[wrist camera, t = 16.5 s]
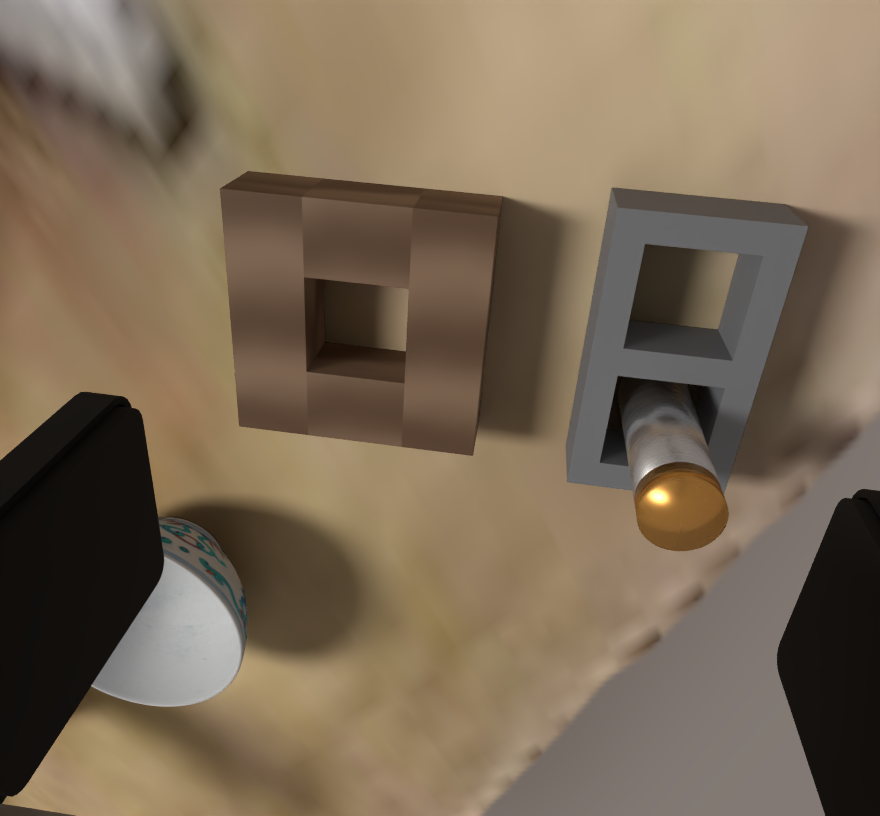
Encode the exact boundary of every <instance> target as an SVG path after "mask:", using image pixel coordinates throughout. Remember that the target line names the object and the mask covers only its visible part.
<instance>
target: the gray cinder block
mask: <svg viewBox="0 0 880 816" xmlns="http://www.w3.org/2000/svg"><path fill="white" fill-rule="evenodd" d="M808 227H809V226H808V225H807V224H805V223H804V222H803V221H802V220H801V219H800V218H799V217H798V216H797V215H796V214H795V213H794V212H793V211H792V210H791V209H790V208H789V207H788V206H787V205H786V204H776V203H766V202H755V201H745V200H735V199H724V198H714V197H704V196H693V195H683V194H672V193H662V192H652V191H641V190H631V189H621V188H612V190H611V195H610V201H609V207H608V212H607V218H606V223H605V229H604V235H603V240H602V246H601V252H600V257H599V263H598V268H597V274H596V280H595V285H594V291H593V296H592V302H591V308H590V313H589V319H588V325H587V330H586V336H585V341H584V347H583V353H582V358H581V364H580V369H579V375H578V381H577V386H576V392H575V398H574V403H573V409H572V414H571V420H570V426H569V431H568V437H567V442H566V463H567V482H570V483H578V484H585V485H593V486H601V487H609V488H617V489H624V490H632V484H631V477H630V471H629V464H628V458H627V452H626V445H625V439H624V432H623V430H617V429H609V428H607V425H608V420H609V415H610V410H611V405H612V400H613V396H614V391H615V386H616V381H617V376H624V377H633V378H641V379H650V380H659V381H667V382H676V383H684V384H693V385H702V386H703V387H702V391H701V394H700V398H699V402H698V405H697V409H696V413H697V416H698V419H699V422H700V425H701V428H702V431H703V434H704V437H705V440H706V443H707V446H708V449H709V452H710V455H711V458H712V461H713V464H714V467H715V470H716V473H717V476H718V479H719V482H720V485H721V488H722V491H723V494H724V492H725V489H726V486H727V483H728V480H729V476H730V473H731V470H732V467H733V464H734V461H735V457H736V454H737V451H738V448H739V445H740V442H741V438H742V435H743V432H744V429H745V426H746V423H747V419H748V416H749V413H750V410H751V407H752V404H753V401H754V397H755V394H756V391H757V388H758V385H759V382H760V378H761V375H762V372H763V369H764V366H765V363H766V359H767V356H768V353H769V350H770V347H771V344H772V340H773V337H774V334H775V331H776V328H777V325H778V321H779V318H780V315H781V312H782V309H783V306H784V302H785V299H786V296H787V293H788V290H789V287H790V284H791V280H792V277H793V274H794V271H795V268H796V265H797V261H798V258H799V255H800V252H801V249H802V246H803V242H804V239H805V236H806V233H807V230H808ZM645 244H651V245H661V246H670V247H680V248H690V249H700V250H710V251H719V252H729V253H739V256H738V259H737V263H736V267H735V270H734V274H733V278H732V281H731V285H730V288H729V292H728V296H727V299H726V303H725V307H724V310H723V314H722V318H721V321H720V325H719V329H718V330H715V329H706V328H697V327H687V326H678V325H669V324H660V323H651V322H642V321H633V320H629V319H630V314H631V309H632V304H633V299H634V295H635V290H636V285H637V280H638V275H639V270H640V266H641V261H642V256H643V251H644V246H645ZM632 491H633V490H632Z"/></svg>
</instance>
